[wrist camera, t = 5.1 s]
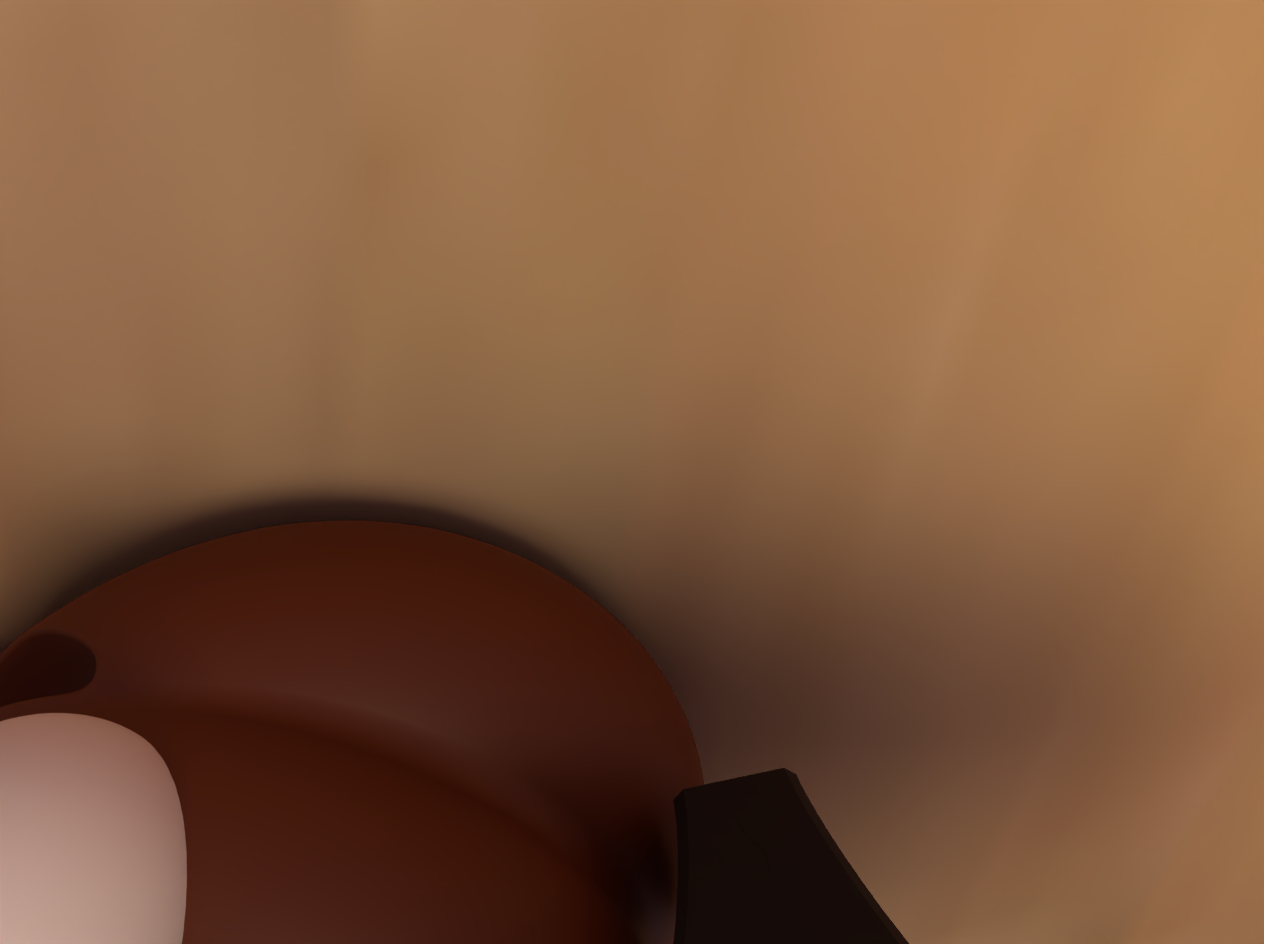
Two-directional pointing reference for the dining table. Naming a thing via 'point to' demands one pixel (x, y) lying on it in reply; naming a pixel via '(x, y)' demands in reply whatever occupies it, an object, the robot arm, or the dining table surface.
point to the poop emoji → (338, 752)
